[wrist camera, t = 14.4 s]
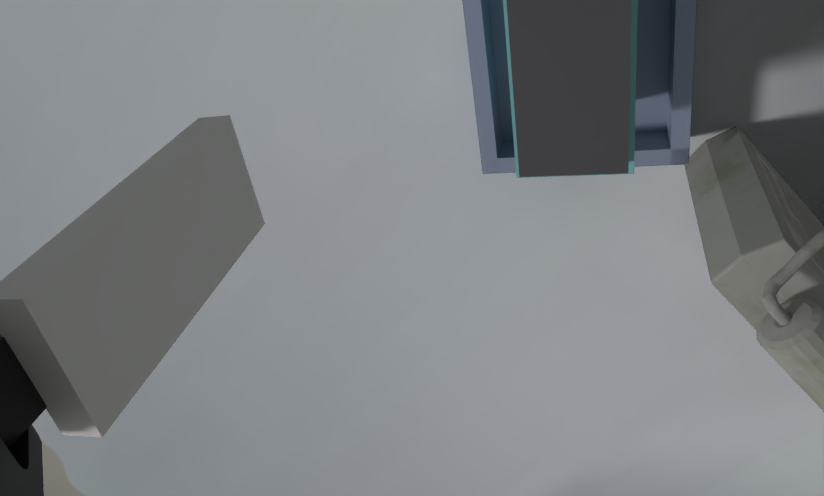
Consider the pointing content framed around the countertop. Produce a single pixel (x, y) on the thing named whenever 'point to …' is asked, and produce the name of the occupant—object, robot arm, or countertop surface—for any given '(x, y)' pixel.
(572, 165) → the teal-edged grey panel
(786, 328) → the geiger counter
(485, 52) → the tray
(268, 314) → the countertop surface
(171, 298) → the robot arm
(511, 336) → the countertop surface
